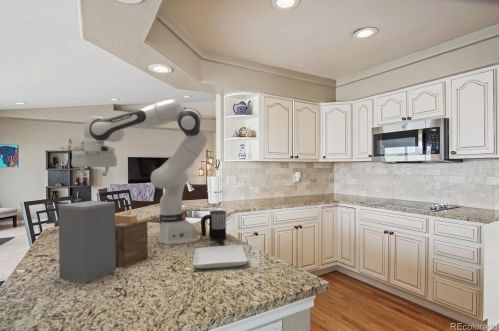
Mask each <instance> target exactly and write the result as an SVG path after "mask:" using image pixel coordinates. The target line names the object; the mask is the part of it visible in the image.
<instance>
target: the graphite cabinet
mask: <svg viewBox="0 0 499 331" xmlns="http://www.w3.org/2000/svg"><path fill="white" fill-rule="evenodd" d="M115 214H116V202H114V201H113V202H112V201H99V200H98V201H97V200H96V201H95V200H88V201H87V200H86V201H81V202H79V201H78V202H73V203H65V204H59V205H58V246H59V247H58V254H59V255H58V263H59V265H58V267H59V269H58V270H59V271H58V273H59V274H58V275H59V278H61V277H62V278H61V279H64V278H67V279H66V280H68V279H71V280H70V281H72V280H75V281H74V282H76V281H79V282H78V283H80V282H83V283H82V284H84V283H86V282H88V283H90V282H92V281H91V280H93V281H95V280H97V279H96V278H98V279H100V278H102V277H104V276H103V275H105V276H107V275H109V274H108V273H110V274H112V273H114V272H116V271H117V268H116V267H117V266H116V249H115ZM115 270H116V271H115ZM113 271H114V272H113ZM111 272H112V273H111ZM106 274H107V275H106ZM101 276H102V277H101ZM99 277H100V278H99ZM94 279H95V280H94ZM89 281H90V282H89ZM86 284H87V283H86Z"/></svg>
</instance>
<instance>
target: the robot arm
mask: <svg viewBox="0 0 499 331" xmlns="http://www.w3.org/2000/svg"><path fill="white" fill-rule="evenodd" d="M172 122H176V123H177V125H178V127H179V128H180V130H181V131H182V132H183V134H184V135H185V137H184V138H183V140H182V141H181V143H180V145H179V146H178V147H177V149H176V150H175V152H174V153H173V154H172V155H171V156H170V157H169V158H168V159H167V160H166V161H165V162H164V163H163V164H162V165H161V166H159V167H158V168H156V169H155V170H153V171H152V172H151V174H150V181H151V184H152V186H154V187H155V188H156V189H157V188H159V189H162V190H163V189H164V191H163V195H162V196H161V197H160V200H159V204H160V205H159V206H160V207H159V209H160V210H159V213H160V214H159V216H158V219H159V220H158V221H159V232H158V233H159V234H158V238H157V240H156V241H157V243H160V244H165V245H167V246H170V245H179V244H190V243H198V242H199V241H200V240H201V239H202V238H201V236H202V235H201V234H199V233H197V229H196V226H195V225H194V224H193V223H192V222H190V221H188V220H187V219H186V218H187V216H186V213H183V212H182V209H183V208H182V204H183V203H182V200H183V194H184V190H185V185H186V183H187V182H188V180H189V174H188V171H187V170H188V169H190V168H191V167H192V166H193V165H194V163H195V162H196V161H197V159H198V157H199V156H200V154H201V153H202V152H203V150H204V148H205V146H206V144H207V142H208V135H207V134H206V133H205V132H204V131H202V129H201V124H202V115H201V113H200V112H199V111H198V110H197V109H194V108H191V107H183V106H182V104H181V103H180V102H179V101H178V100H177V99H175V98H169V99H165V100H160V101H158V102H155V103H152V104H150V105H147V106H144V107H142V108H139V109H136V110H134V111H130V112H129V111H128V112H126V113H122V114H120V115H119V114H118V115H117V116H113V117H109V118H104V117H103V116H100V115H90V116H87V117H86V118H85V120H84V123H83V134H84V140H83V148H75V149H73V150H72V151H71V164H70V165H71V167H73V168H79V171H80V172H81V173H82V174H81V175H82V177H88V173H87V172H86V171H85V168H104V169H105V170H104V172H102V177H107V176H108V172H109V170H110V168H111V167H112V168H113V167H117V165H118V160H117V154H116V153H115V151H116V150H115V148H114V147H111V146H109V145H105V142H111V143H116V142H119V141H120V142H121V140H122V139H123V138H124V136H125V129H129V128H131V127H145V128H156V127H160V126H164V125H166V124H169V123H172Z"/></svg>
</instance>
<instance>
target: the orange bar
mask: <svg viewBox="0 0 499 331" xmlns="http://www.w3.org/2000/svg"><path fill="white" fill-rule="evenodd" d="M137 216H138V215H136V214H127V213H126V214H125V213H115V222H117V223H127V224H133V223H137V220H138V217H137Z"/></svg>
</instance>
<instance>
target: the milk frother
mask: <svg viewBox="0 0 499 331" xmlns="http://www.w3.org/2000/svg"><path fill="white" fill-rule="evenodd" d="M207 220H208V221H209V223H208V224H209V225H208V226H209V227H208V228H209V233H208V235H209V236H208V237H209V240H210V241H212V242H214V243H216V244H218V245H219V246H222V244H225V241H226V240H227V227H226V226H227V211H226V210H211V211H209V214H205V215H204V216H203V217H201V220H200V228H201V236H202V237H206V236H207V228H206V227H207V226H206V221H207Z"/></svg>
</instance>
